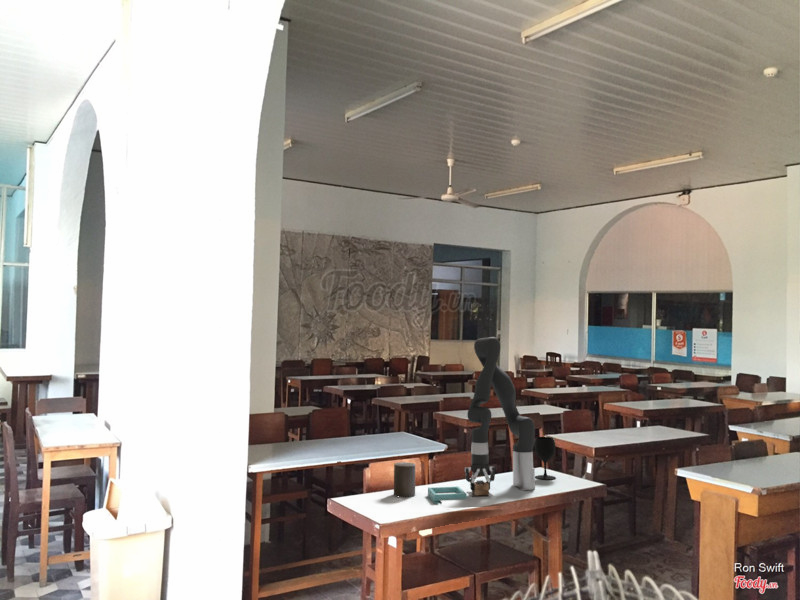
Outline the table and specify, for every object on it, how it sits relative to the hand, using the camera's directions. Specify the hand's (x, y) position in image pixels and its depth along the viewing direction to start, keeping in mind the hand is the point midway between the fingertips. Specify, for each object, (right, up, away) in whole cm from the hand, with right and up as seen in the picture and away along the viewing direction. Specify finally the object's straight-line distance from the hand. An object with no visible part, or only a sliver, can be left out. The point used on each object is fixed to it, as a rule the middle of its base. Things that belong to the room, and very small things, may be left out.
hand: (480, 490), depth 281 cm
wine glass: (+38, -6, +40) cm, 56 cm away
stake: (0, -3, 0) cm, 3 cm away
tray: (-15, -3, -3) cm, 15 cm away
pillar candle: (-33, -3, +5) cm, 34 cm away
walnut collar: (0, -1, 0) cm, 1 cm away
